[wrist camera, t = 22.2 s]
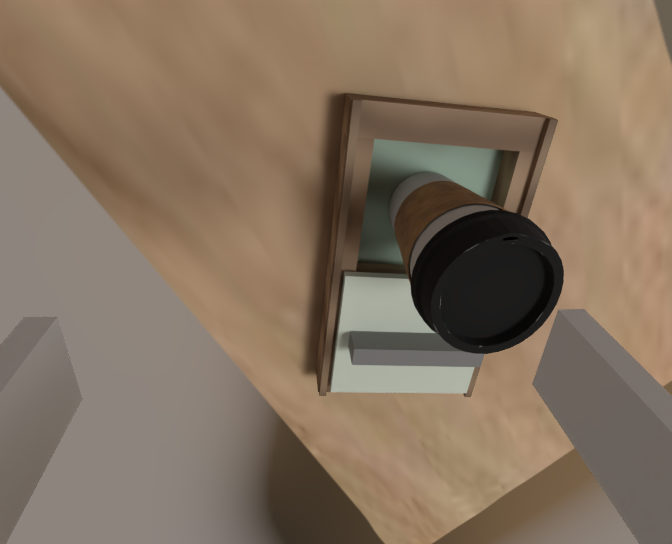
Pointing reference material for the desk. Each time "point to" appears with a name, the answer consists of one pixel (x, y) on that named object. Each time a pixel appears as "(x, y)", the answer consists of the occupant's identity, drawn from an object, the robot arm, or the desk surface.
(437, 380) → the lid
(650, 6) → the desk surface
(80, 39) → the desk surface
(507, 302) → the coffee cup
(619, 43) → the desk surface
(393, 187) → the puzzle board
